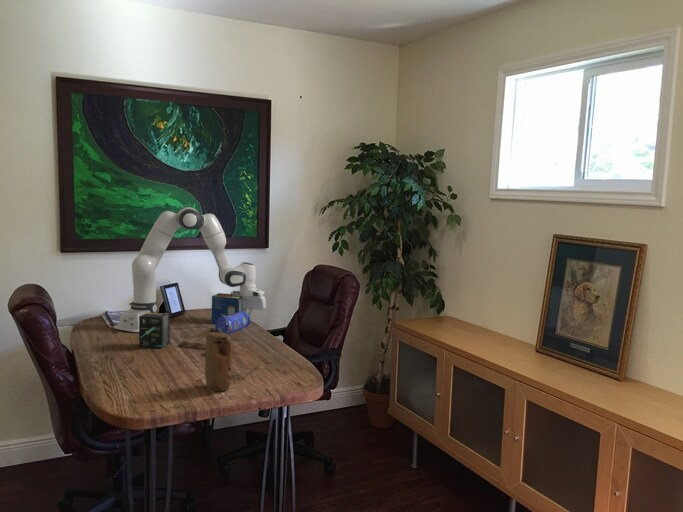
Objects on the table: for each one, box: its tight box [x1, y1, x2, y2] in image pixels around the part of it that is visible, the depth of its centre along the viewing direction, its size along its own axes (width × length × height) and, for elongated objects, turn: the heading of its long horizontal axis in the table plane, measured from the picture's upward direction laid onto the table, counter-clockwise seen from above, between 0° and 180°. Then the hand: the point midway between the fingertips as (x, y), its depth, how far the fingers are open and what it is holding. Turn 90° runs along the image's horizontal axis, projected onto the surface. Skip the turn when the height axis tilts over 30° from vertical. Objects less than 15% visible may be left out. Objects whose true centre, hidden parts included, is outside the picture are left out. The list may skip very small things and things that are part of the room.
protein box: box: [210, 292, 244, 325], centre depth 307 cm, size 10×15×16 cm
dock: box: [180, 327, 242, 350], centre depth 269 cm, size 16×29×2 cm, turn 166°
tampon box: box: [138, 312, 171, 349], centre depth 256 cm, size 11×9×15 cm
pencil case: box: [214, 311, 251, 335], centre depth 290 cm, size 22×9×10 cm, turn 156°
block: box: [204, 331, 233, 392], centre depth 203 cm, size 11×8×20 cm
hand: (247, 316), depth 307 cm, fingers closed
